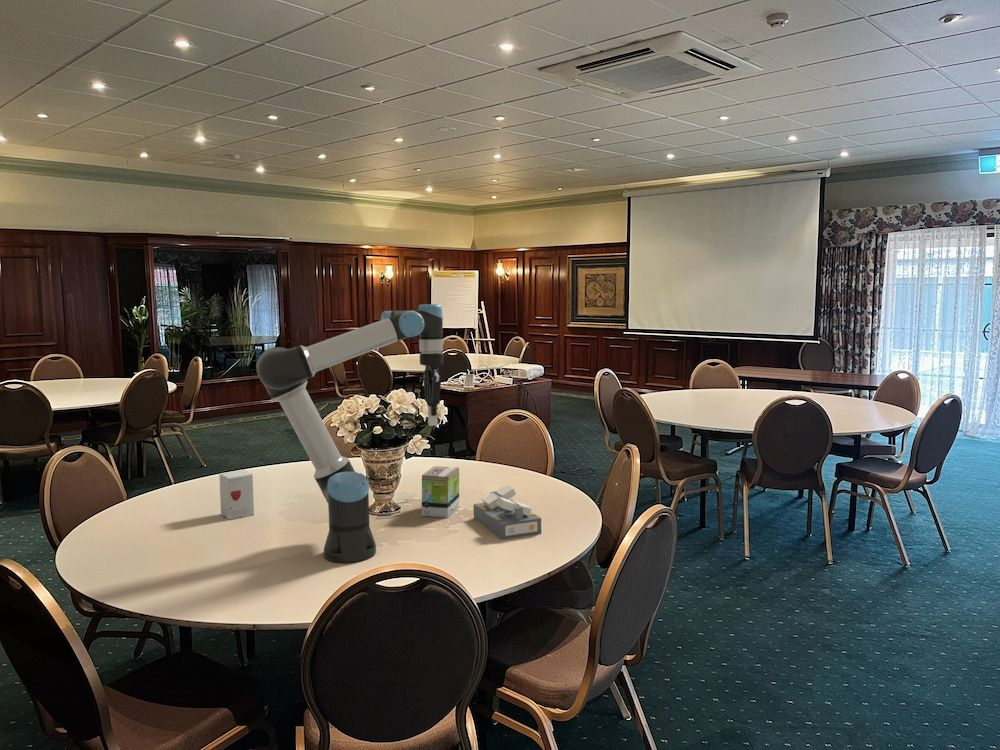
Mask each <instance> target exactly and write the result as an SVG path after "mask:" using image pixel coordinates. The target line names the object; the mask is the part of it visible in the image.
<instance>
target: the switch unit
mask: <svg viewBox="0 0 1000 750" xmlns="http://www.w3.org/2000/svg"><path fill="white" fill-rule="evenodd" d="M493 492H494V491H491V492H490V494H492V493H493ZM505 499H508V498H505ZM508 500H512V501H514V500H513V499H512V498H510V499H508ZM473 519H474V520H475V521H477V522H478V523H479V524H481V525H482V526H483V527H484V528H485V529H487V530H488V531H490V532H491V533H492V534H493V535H494V536H496V537H497V538H499V540H507V539H508V540H509V539H515V538H520V537H527V536H533V535H534V536H535V535H540V534H542V518H541V517H540V516H538V515H537V514H536V513H534V512H533V511H531V513H530V515H529V516H528V515H524V514H523V507H519V508H515V512H513V511H510V510H506V509H503V508H501V507H500V506H497V507H495V508H494V509H492V510H491V509H489V508H488V507H487V506H485V505H484V503H483V502H480V503H479V502H478V503H473Z"/></svg>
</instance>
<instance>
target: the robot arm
mask: <svg viewBox="0 0 1000 750" xmlns="http://www.w3.org/2000/svg"><path fill="white" fill-rule="evenodd" d="M443 320H444V317H443V308H442V305H440V304H437V303H432V304H431V303H429V304H428V303H427V304H426V303H425V304H424V303H423V304H419V305H418V308H417V310H384V311H382V313H381V315H380V320H379V321H376V322H372V323H370V324H366V325H364V326H360V327H359V328H356V329H353V330H350V331H347V332H345V333H341V334H339V335H336V336H334V337H330V338H327V339H325V340H321V341H319V342H317V343H314V344H311V345H309V346H304V345H298V346H295V347H291V348H285V347H280V346H276V347H271V348H268V349H266V350H264V351H263V352H262V353H261V354H260V355H259V357H258V358H257V359H256V364H255V370H256V373H257V375H258V376H257V377H258V378H259V380H260V381H261V384H263V386H264V388H265V389H266V391H267V393H268V396H269V397H270V399H271V400H273V401H277V402H279V404H280V406H281V408H282V409H283V412H284V413H285V415H286V417H287V419H288V420H289V423H290V425H291V426H292V428H293V430H294V432H295V433H296V435H297V437H298V440H299V442H300V443H301V445H302V447H303V449H304V450H305V452H306V454H307V456H308V458H309V459H310V462H311V464H312V465H313V467H314V469H315V470H314V473H313V477H314V480H315V481H316V484H317V485H318V487H319V489H320V491H321V493H322V495H323V497H324V499H325V500H326V503H327V506H328V528H329V529H328V533H327V536H326V540H325V544H324V547H323V557H324V558H325V560H327V561H330V562H333V563H342V564H343V563H344V564H347V563H357V562H360V561H365V560H369V559H371V558H372V557H374V556H375V555H376V553H377V544H376V540H375V539H374V535H373V533H372V530H371V528H370V505H369V504H370V501H369V500H370V499H369V498H370V497H369V490H370V486H369V480H368V478H367V476H366V475H364V473H361V472H357V471H355V469H354V467H353V465H352V463H351V461H350V459H349V458H348V457H345V456H342V455H341V453H340V451H339V449H338V448H337V445H336V444H335V442H334V440H333V438H332V436H331V434H330V432H329V430H328V429H327V427H326V425H325V423H324V420H323V419H322V418H321V415H320V412H319V411H318V410H317V407H316V405H315V404H314V402H313V400H312V399H311V398H312V397H311V396H310V394H309V392H308V390H307V389H306V387H307V385H308V379H311V378H313V377H315V375H316V373H317V372H319V371H322V370H326V369H327V368H331V367H333V366H335V365H338V364H341V363H344V362H346V361H348V360H352V359H354V358H356V357H357V358H358V357H359V356H362V355H364V354H368V353H370V352H373V351H375V350H378V349H380V348H384V347H386V346H389V345H391V344H394V343H396V342H399V341H402V340H405V339H408V338H415V337H417V336H419V338H418V348H419V352H420V354H419V365H421V366H425V369H424V372H422V379H423V387H424V388H423V390H424V398H425V399H424V401H425V402H426V404H427V405H426V406H427V426H429V427H430V426H431V427H433V426H434V427H435V426H438V425H439V423H438V421H439V420H438V405H440V400H441V385H442V384H441V383H442V379H443V377H442V375H440V370H439V366H442V365H443V364H444V354H443V351H444V347H443V346H444V345H445V342H444V339H443V338H444V336H443V334H444V333H443V332H444V331H443V329H444V325H443Z"/></svg>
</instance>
